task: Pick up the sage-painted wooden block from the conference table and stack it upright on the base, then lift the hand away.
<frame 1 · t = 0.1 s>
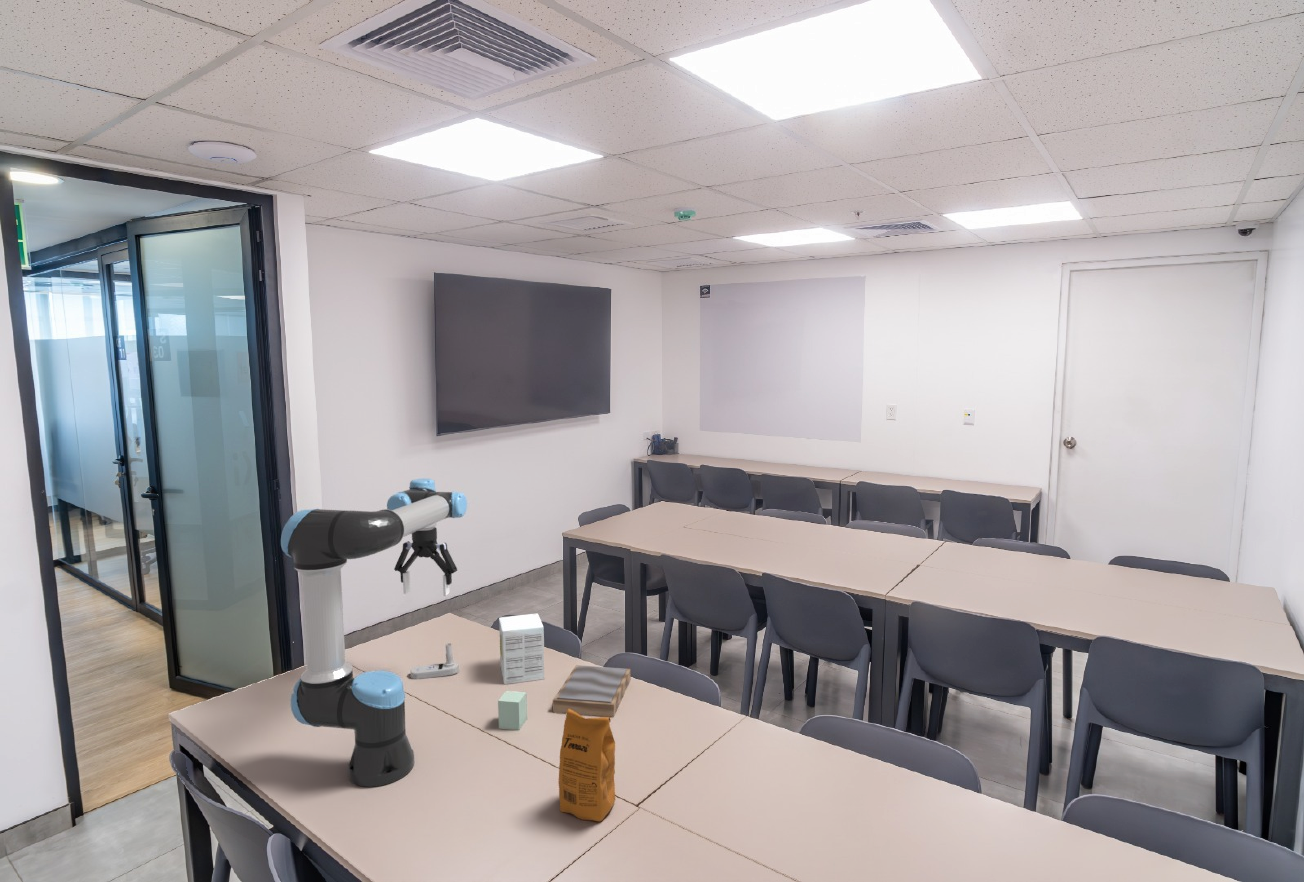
hand: (426, 593, 215), 28 cm above the table, fingers open, 13 cm apart
sage block: (513, 723, 189), on the table
coffee package: (586, 807, 152), on the table
supplement box: (522, 674, 221), on the table
base: (593, 695, 205), on the table
electronic device: (435, 675, 221), on the table
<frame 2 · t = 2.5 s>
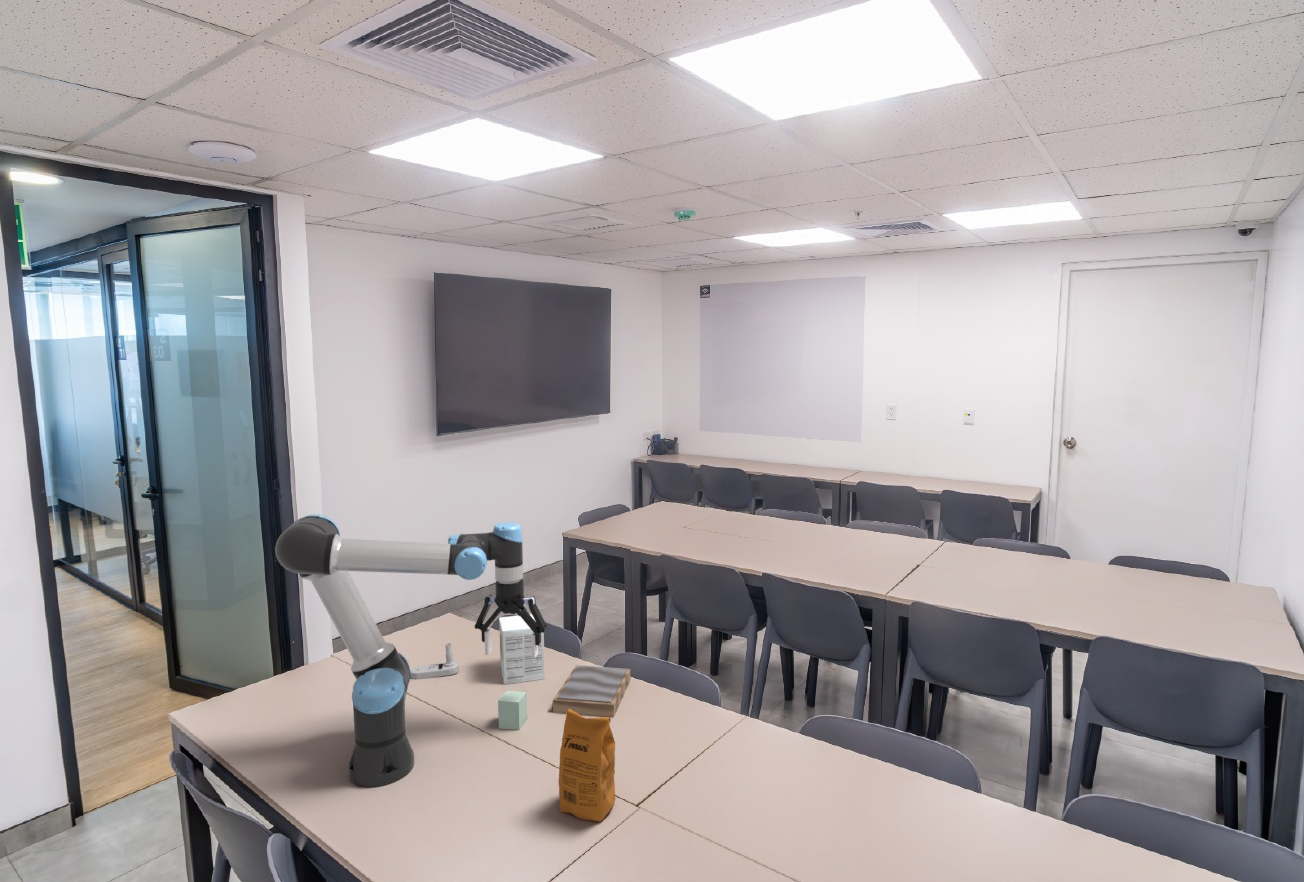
hand: (511, 654, 187), 20 cm above the table, fingers open, 13 cm apart
nothing on the table moved.
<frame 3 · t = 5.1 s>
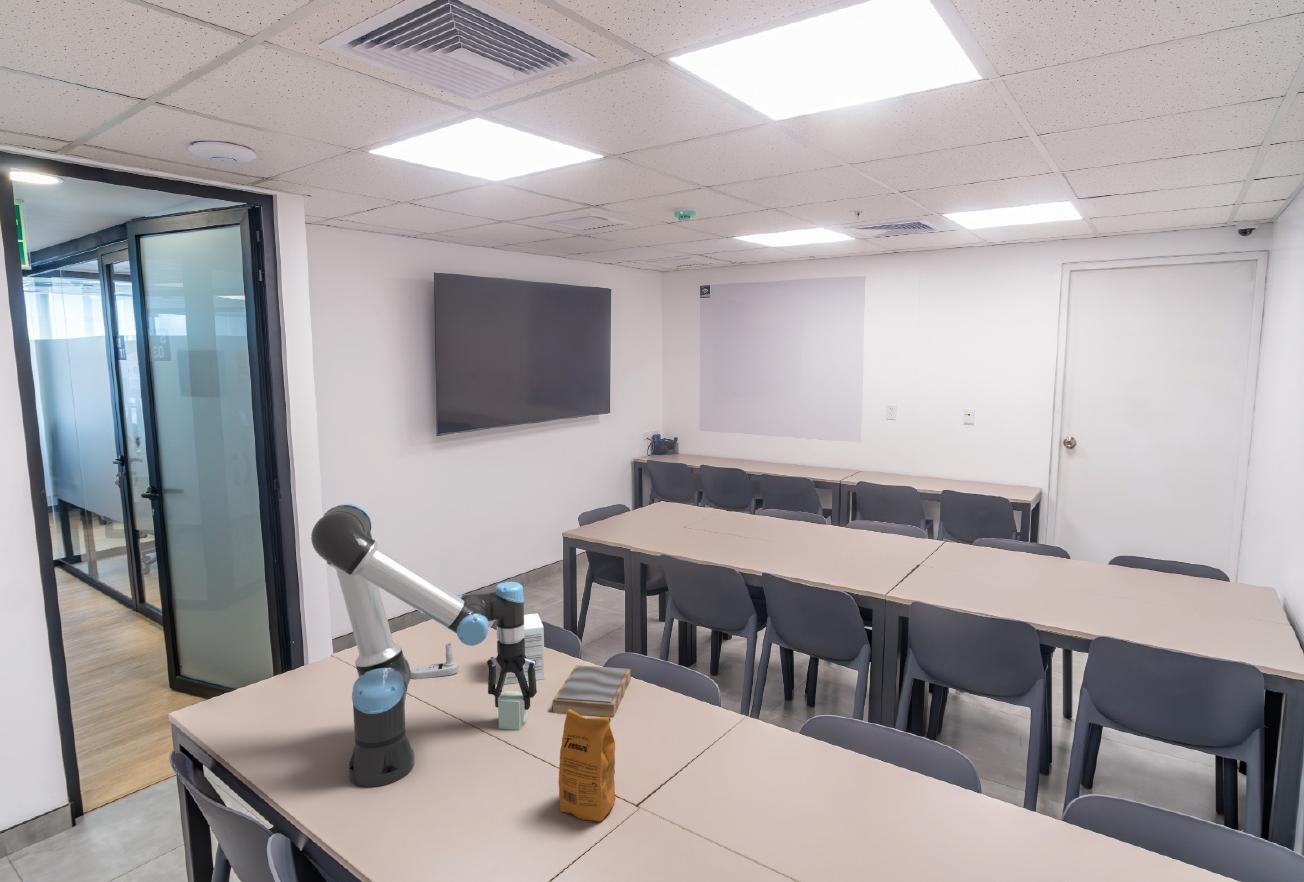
hand: (513, 718, 189), 1 cm above the table, fingers closed on sage block, 6 cm apart
sage block: (513, 723, 189), on the table, touching gripper
everything else where it was.
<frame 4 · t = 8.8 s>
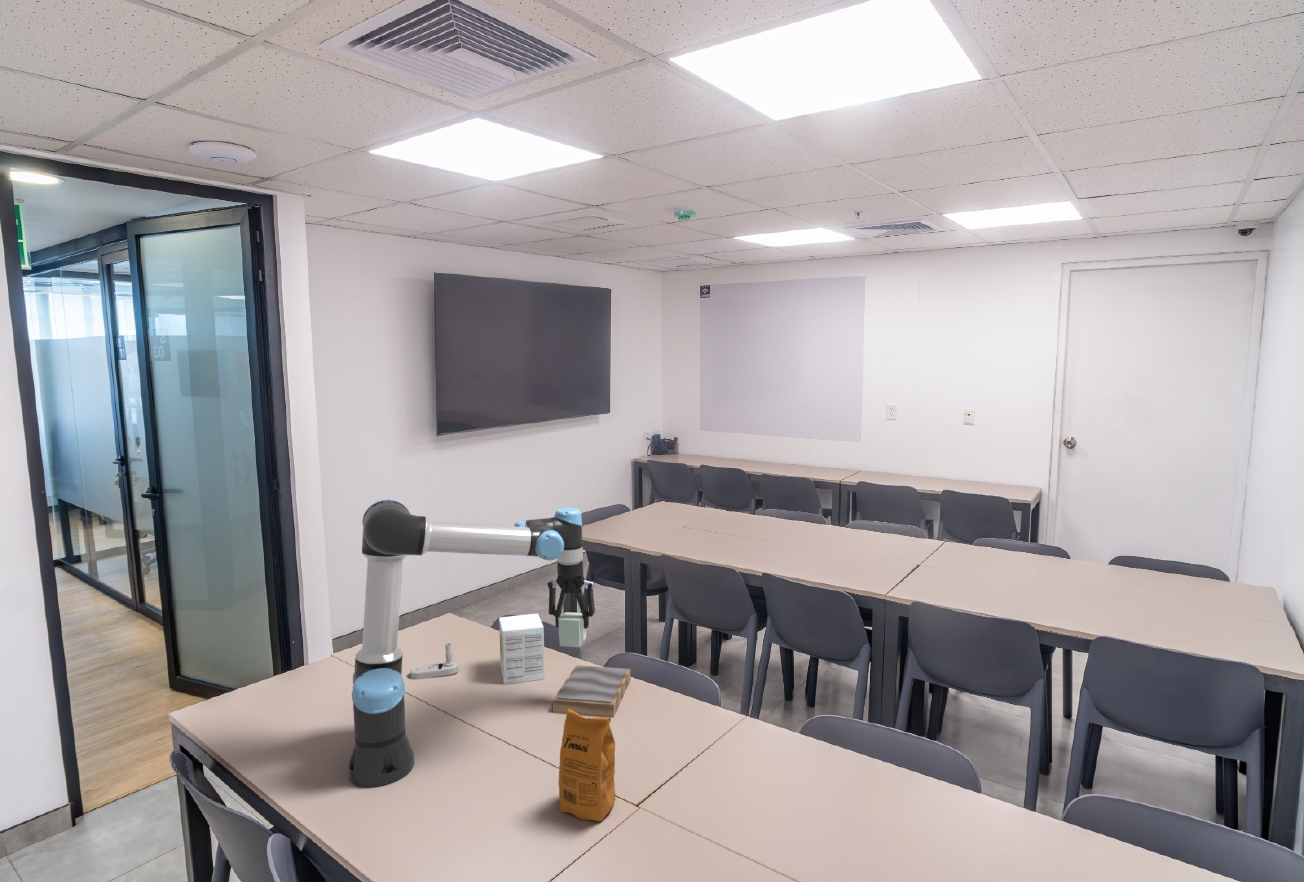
hand: (572, 637, 199), 20 cm above the table, fingers closed on sage block, 6 cm apart
sage block: (572, 642, 199), point 18 cm above the table, touching gripper
everything else where it was.
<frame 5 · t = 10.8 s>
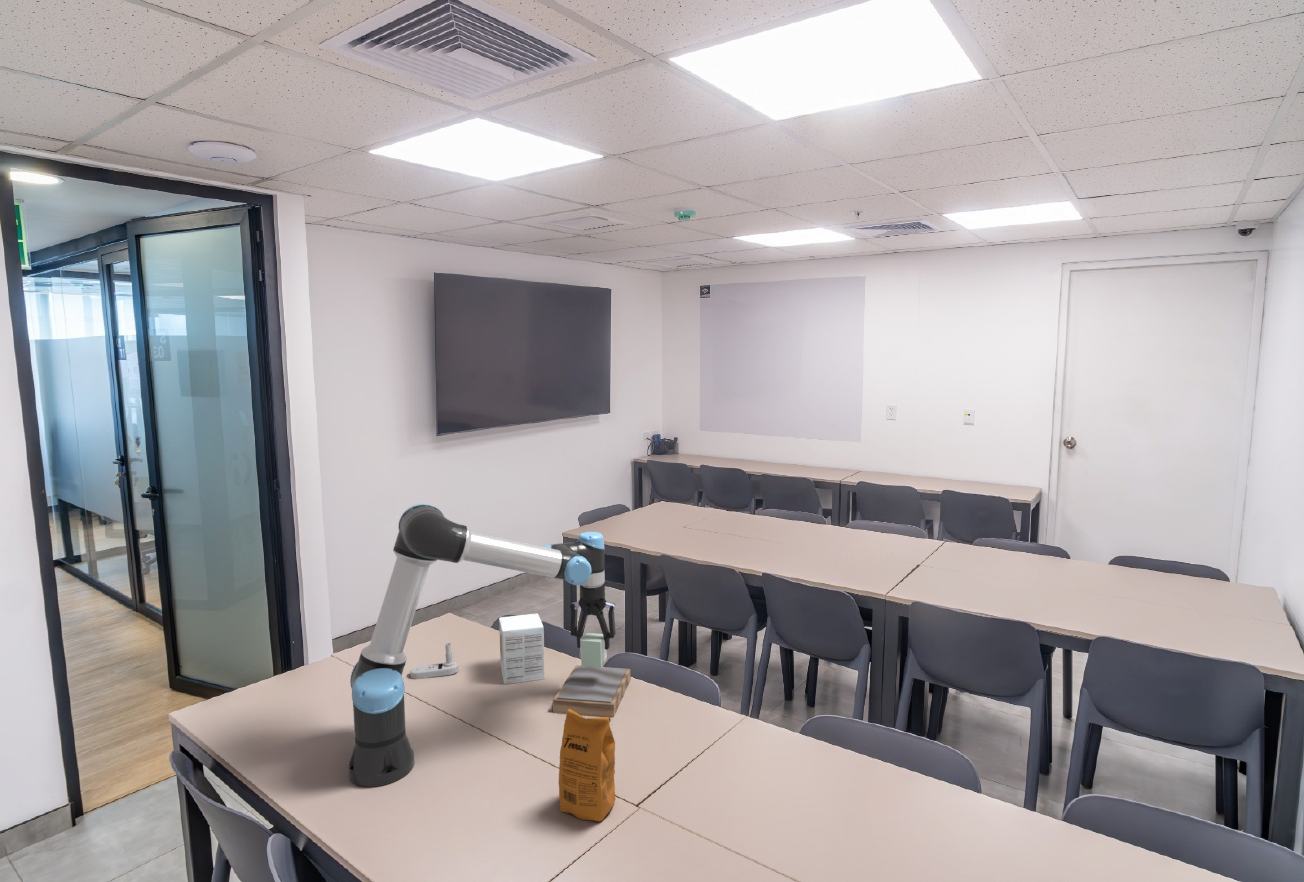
hand: (593, 658, 204), 12 cm above the table, fingers closed on sage block, 6 cm apart
sage block: (593, 662, 204), point 10 cm above the table, touching gripper
everything else where it was.
when the fingers open (7 cm above the table, at t = 12.4 s): sage block drops 1 cm, resting on base.
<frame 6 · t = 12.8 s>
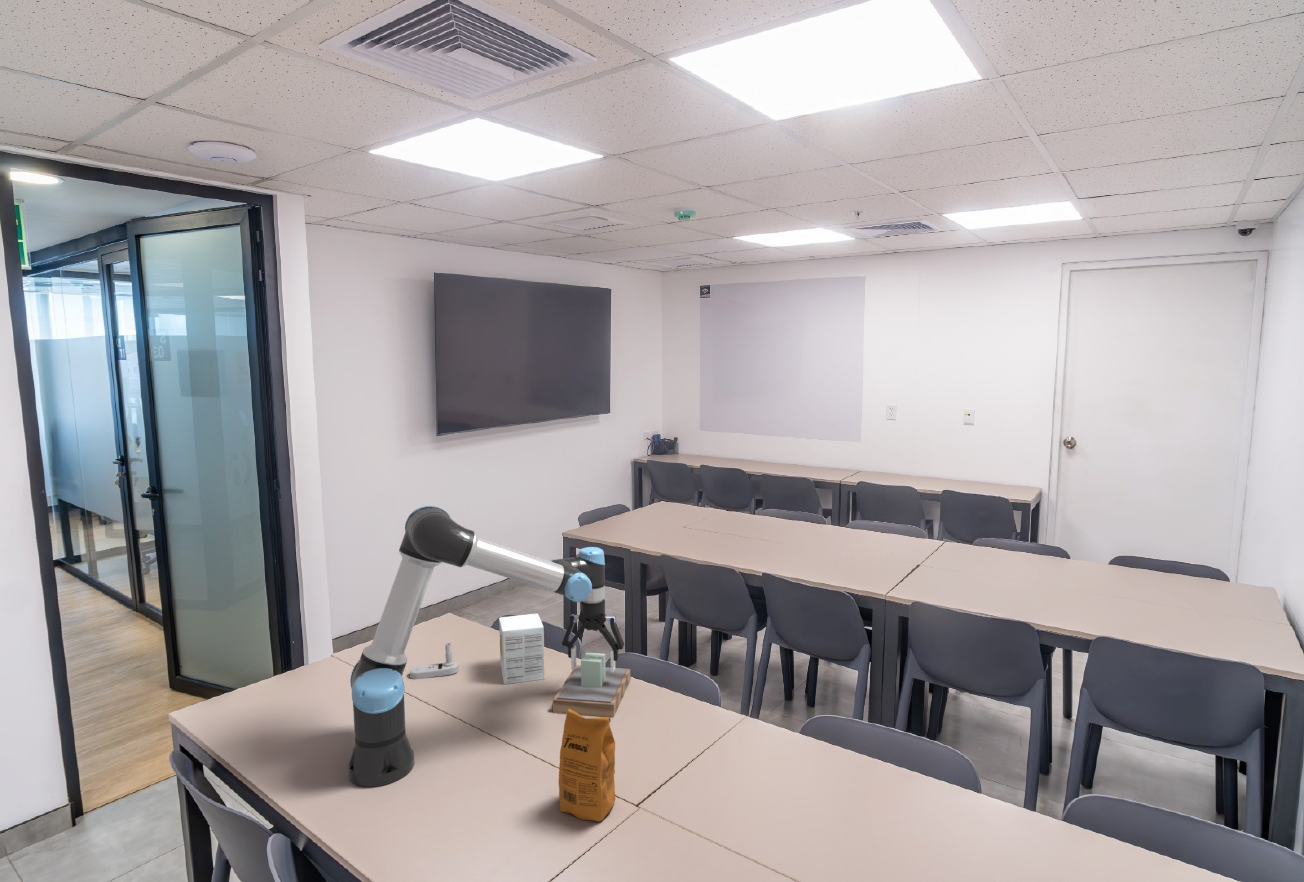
hand: (593, 669, 204), 8 cm above the table, fingers open, 11 cm apart
sage block: (593, 682, 205), point 4 cm above the table, touching base
everything else where it was.
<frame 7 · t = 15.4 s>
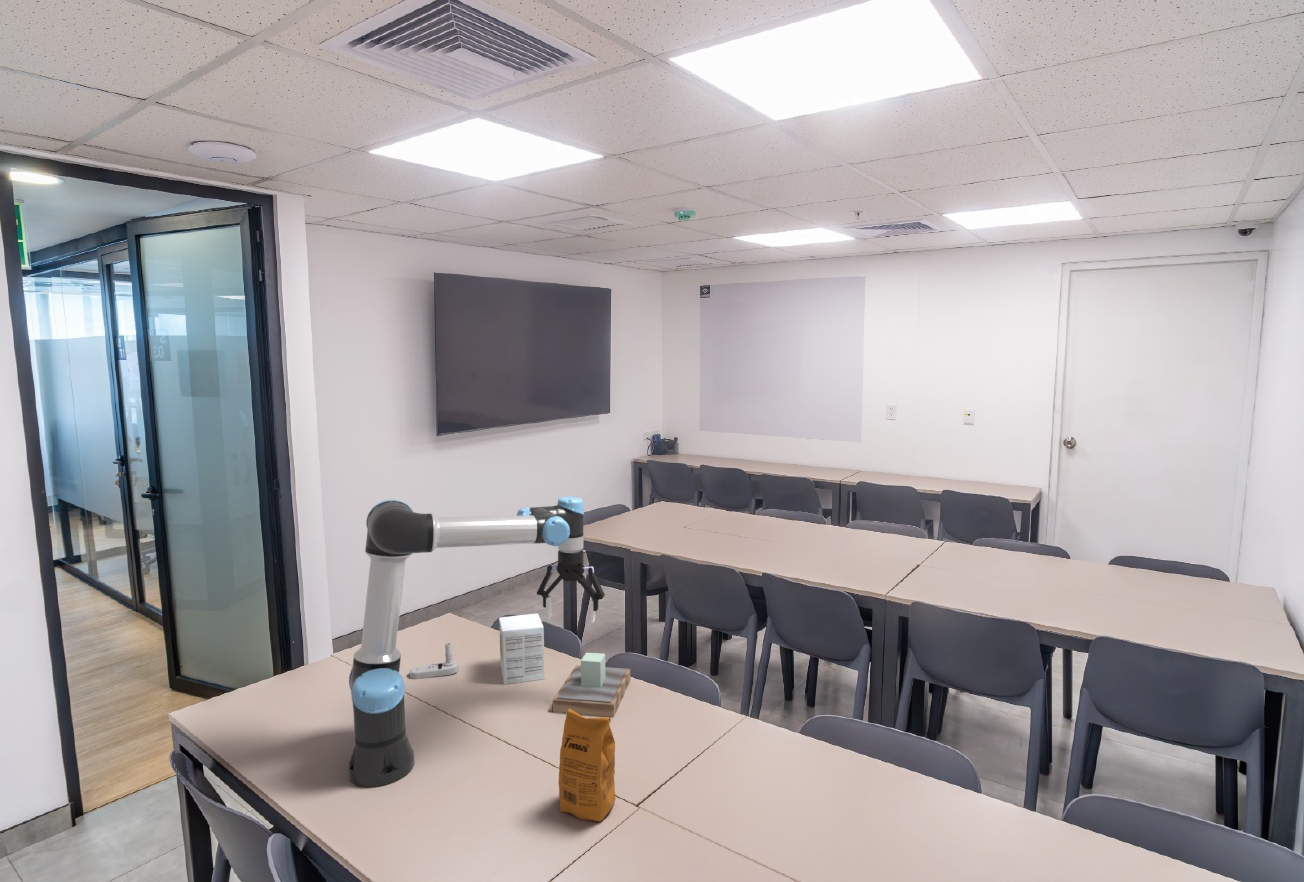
hand: (570, 619, 201), 24 cm above the table, fingers open, 13 cm apart
nothing on the table moved.
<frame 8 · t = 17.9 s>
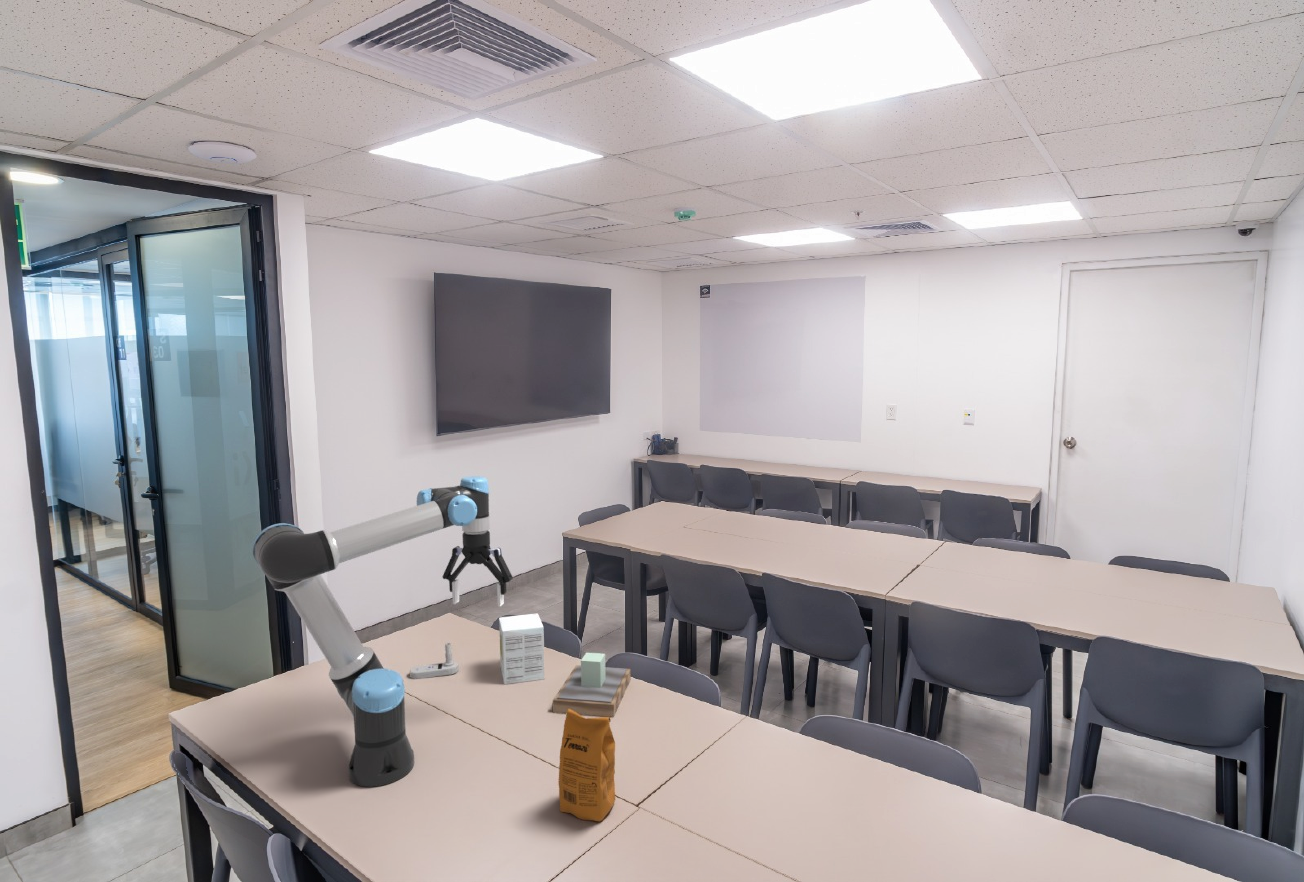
hand: (478, 604, 194), 32 cm above the table, fingers open, 13 cm apart
nothing on the table moved.
at the end: sage block inside the target area on the base (0.0 cm from its centre), point 4.0 cm above the base's base; sage block tilted 0°; the gripper is holding nothing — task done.
